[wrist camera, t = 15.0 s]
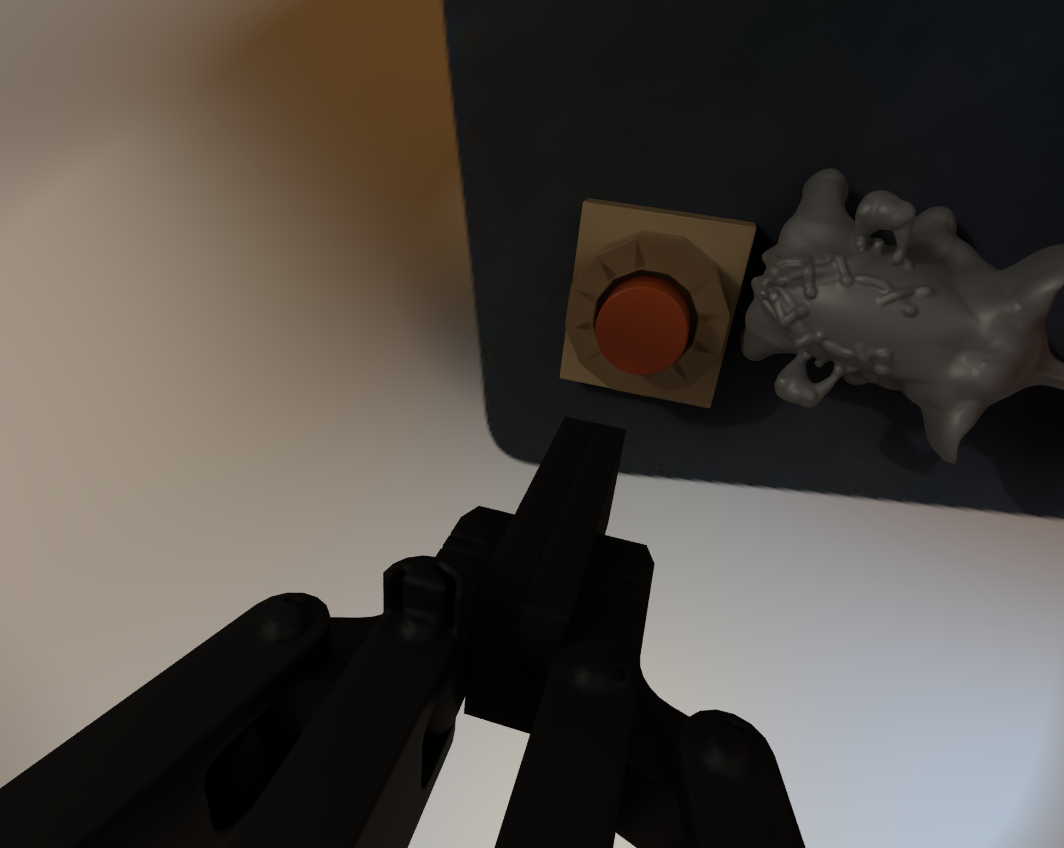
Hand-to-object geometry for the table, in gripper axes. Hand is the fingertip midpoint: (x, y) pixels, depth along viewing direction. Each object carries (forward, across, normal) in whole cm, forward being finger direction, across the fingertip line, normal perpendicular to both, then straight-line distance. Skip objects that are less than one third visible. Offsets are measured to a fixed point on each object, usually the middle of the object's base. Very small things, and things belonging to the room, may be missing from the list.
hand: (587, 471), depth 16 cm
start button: (+12, 0, 0) cm, 12 cm away
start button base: (+15, 0, 0) cm, 15 cm away
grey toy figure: (+15, +10, +3) cm, 18 cm away
